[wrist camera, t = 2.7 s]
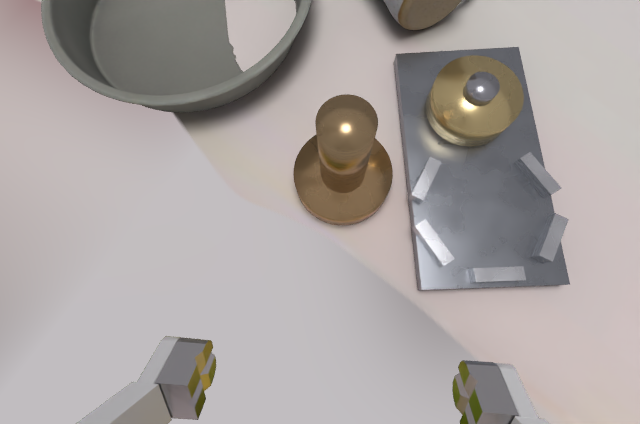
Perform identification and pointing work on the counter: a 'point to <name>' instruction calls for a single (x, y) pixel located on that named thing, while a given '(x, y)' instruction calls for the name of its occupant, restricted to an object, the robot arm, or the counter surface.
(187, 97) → the cake pan
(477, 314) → the counter surface
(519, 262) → the carrier plate
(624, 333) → the counter surface
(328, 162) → the brass joystick knob
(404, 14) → the ceramic mug
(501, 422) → the robot arm
